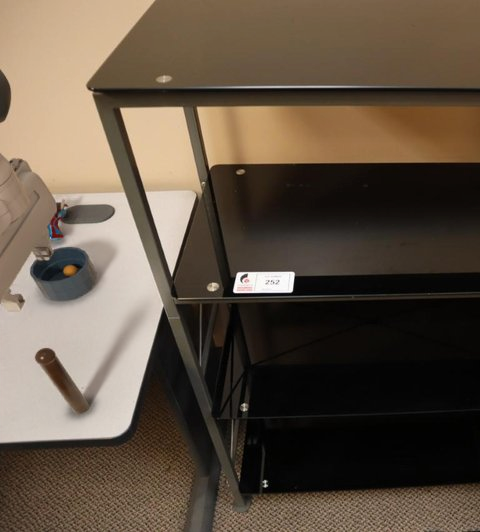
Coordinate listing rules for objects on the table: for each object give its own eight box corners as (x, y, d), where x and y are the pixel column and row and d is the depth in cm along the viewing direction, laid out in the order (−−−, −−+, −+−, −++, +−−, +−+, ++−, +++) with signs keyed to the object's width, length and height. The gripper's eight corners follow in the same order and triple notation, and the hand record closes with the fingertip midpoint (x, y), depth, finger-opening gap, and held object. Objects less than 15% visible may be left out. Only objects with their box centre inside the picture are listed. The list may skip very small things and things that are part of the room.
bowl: (33, 303, 95) (20, 283, 91) (54, 266, 102) (42, 246, 98) (88, 303, 96) (77, 283, 92) (105, 266, 103) (95, 246, 99)
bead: (64, 280, 99) (59, 271, 97) (68, 271, 101) (64, 262, 99) (77, 280, 99) (72, 271, 97) (81, 271, 101) (77, 262, 99)
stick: (70, 414, 80) (28, 358, 70) (76, 401, 82) (36, 344, 71) (86, 414, 81) (47, 358, 70) (92, 400, 82) (54, 344, 72)
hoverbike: (41, 248, 105) (29, 228, 101) (50, 212, 113) (39, 192, 109) (69, 245, 106) (58, 224, 102) (76, 209, 114) (66, 189, 110)
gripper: (-8, 150, 67) (38, 231, 76) (-102, 259, 52) (-31, 341, 62) (44, 150, 67) (83, 230, 77) (-35, 258, 53) (25, 339, 63)
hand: (32, 280), depth 69 cm, fingers open, 8 cm apart
